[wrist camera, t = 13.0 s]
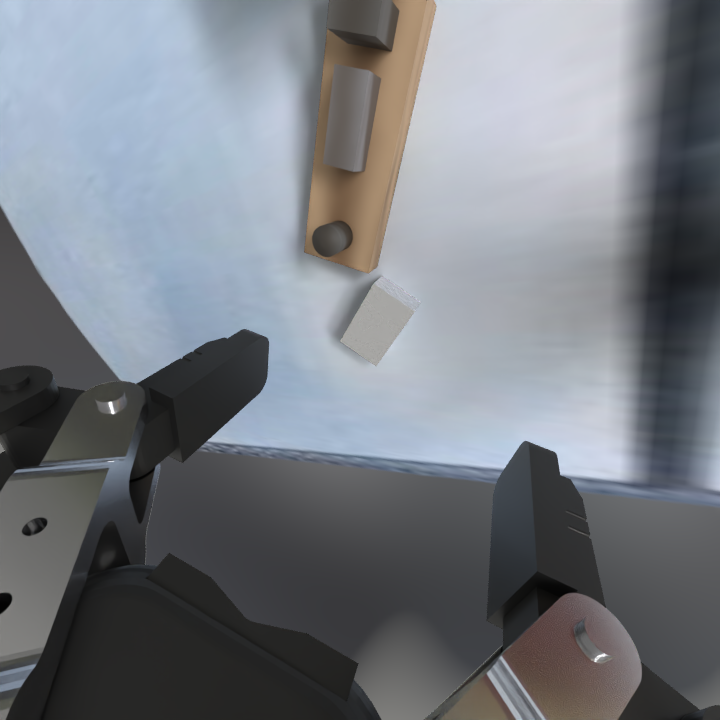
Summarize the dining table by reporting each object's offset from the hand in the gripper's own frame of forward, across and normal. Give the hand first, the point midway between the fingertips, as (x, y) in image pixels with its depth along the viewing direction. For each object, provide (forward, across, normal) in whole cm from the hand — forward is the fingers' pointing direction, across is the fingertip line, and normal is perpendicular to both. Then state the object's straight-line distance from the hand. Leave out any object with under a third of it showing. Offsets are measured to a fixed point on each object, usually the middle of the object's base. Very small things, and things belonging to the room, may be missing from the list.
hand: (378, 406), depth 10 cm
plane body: (+30, +13, -5) cm, 33 cm away
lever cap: (+30, +7, +12) cm, 33 cm away
